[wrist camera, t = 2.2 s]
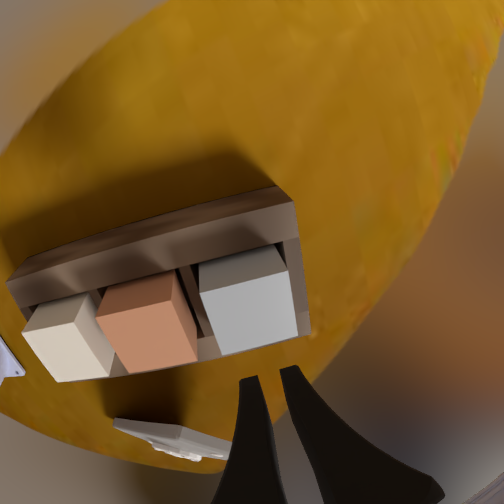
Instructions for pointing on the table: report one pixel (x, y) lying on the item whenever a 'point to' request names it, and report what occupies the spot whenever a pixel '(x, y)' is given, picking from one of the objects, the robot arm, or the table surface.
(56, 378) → the ivory key
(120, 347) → the rust key
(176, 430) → the light switch
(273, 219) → the brown slotted tray
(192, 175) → the table surface
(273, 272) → the slate key
